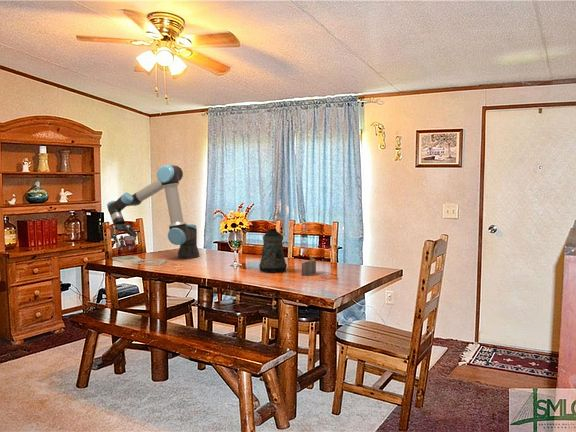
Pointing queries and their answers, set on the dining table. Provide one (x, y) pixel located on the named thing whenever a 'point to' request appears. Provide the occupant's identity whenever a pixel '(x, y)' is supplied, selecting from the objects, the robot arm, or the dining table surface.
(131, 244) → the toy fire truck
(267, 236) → the dark tapered vessel
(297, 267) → the dining table surface
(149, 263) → the grey bay
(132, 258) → the cream bay
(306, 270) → the grey rectangular block
